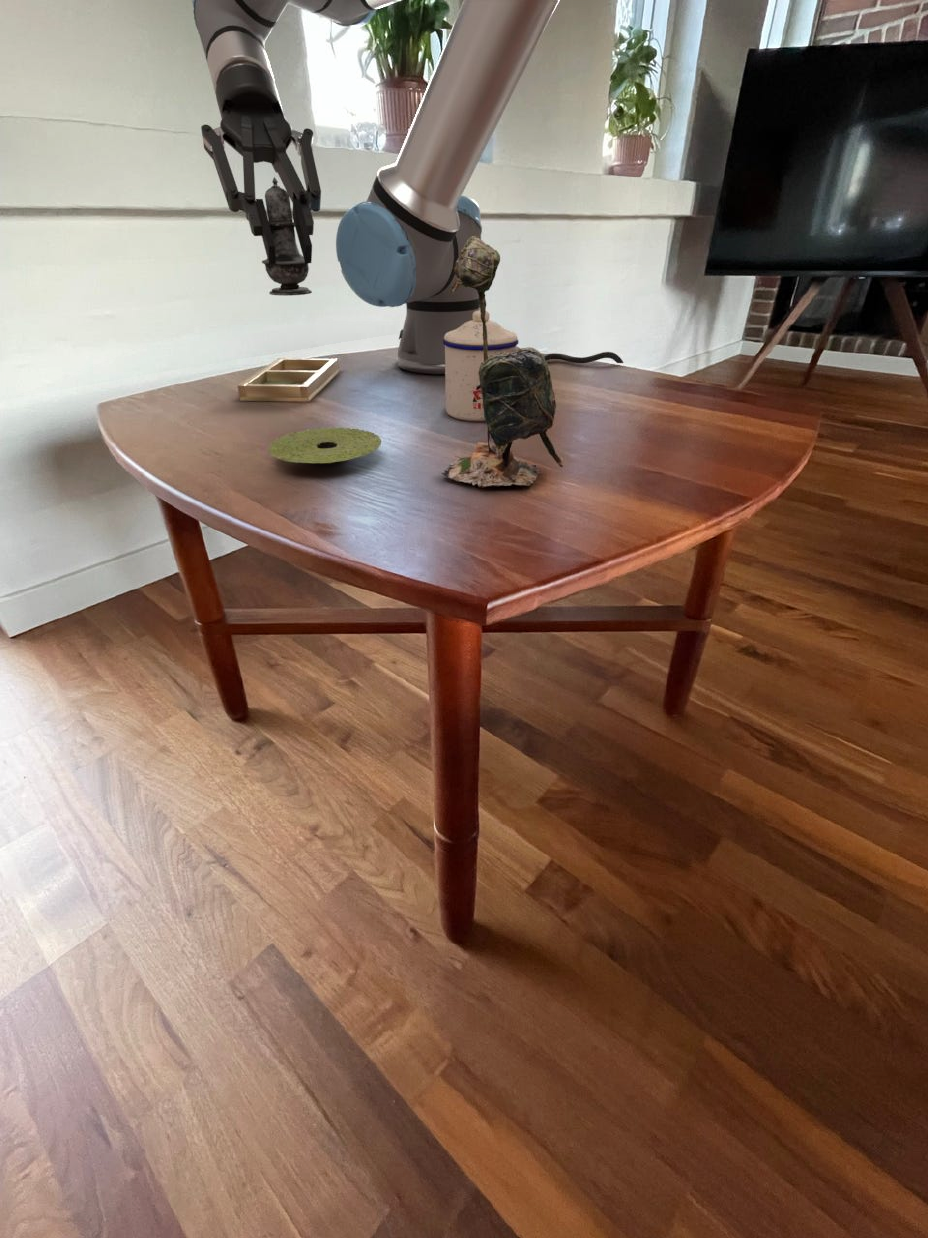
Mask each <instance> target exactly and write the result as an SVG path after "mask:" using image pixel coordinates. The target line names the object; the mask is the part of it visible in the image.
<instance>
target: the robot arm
mask: <svg viewBox="0 0 928 1238" xmlns="http://www.w3.org/2000/svg"><path fill="white" fill-rule="evenodd" d="M401 1H402V0H191V2H192V8H193V10H192V11H193V19H194V23H195V27H196V30H197V32H198V34H199V38H200V42H201V45H202V46H201V47H202V49H203V53H204V56H205V59H206V63H207V67H208V70H209V74H210V78H211V79H210V80H211V83H212V87H213V91H214V94H215V98H216V103H217V107H218V110H219V114H220V118H221V120H220V123H219V125H220V126H219V127H215V128H212V126H211V125H210V124H202V125H201V127H200V129H201V136H202V144H203V149H204V151H205V152H206V153H207V155H209V157H210V158H211V159H212V161H213V163H214V167H215V169H216V173H217V175H218V178H219V179H218V180H219V182H220V185H221V189H222V191H223V194H224V197H225V200H226V202H227V206H228V209H229V210H230V211H231V212H233V213H238V212H239V211H241V212H244V214H245V218H246V220H247V222H248V224H249V227H250V231H251V234H252V236H254V237H261V238H262V242H263V243H262V244H263V246H264V250H265V254H266V259H267V258H268V262H269V265H273V264H276V257H275V244H274V240H273V236H272V233H271V229H270V225H269V221H268V214H267V209H266V207H265V206H266V205H265V203H264V200H263V198H256V177H255V164H259V163H268V164H271V166H272V168H273V170H274V172H275V174H276V173H277V174H278V177H279V179H280V181H281V183H282V184H283V187H284V188H285V189H284V190H286V191H287V193H288V194H289V198H290V202H291V203H292V221H293V222H294V223H295V224H296V226H295V227H294V229H295V233H296V235H297V239H298V242H299V246H300V250H301V255H302V256H303V257H304V261H305V263H308V264H312V260H313V259H312V258H313V257H312V256H313V243H312V241H311V236H314V231H315V229H314V228H315V227H314V226H315V221H314V217H313V215H312V211H313V212H316V213H317V212H320V211H321V202H322V200H321V199H322V189H321V185H320V179H319V175H318V170H317V166H316V162H315V161H316V160H315V156H314V131H313V130H312V129H311V128H304V129H303V131H302V132H301V131H298V130H295V129H293V127H292V125H291V123H290V122H289V121H288V119H286V117H285V113H284V109H283V106H282V102H281V99H280V96H279V92H278V89H277V86H276V81H275V78H274V74H273V71H272V68H271V64H270V60H269V56H268V53H267V49H266V46H265V44H266V41H267V40H268V37H270V34H271V32H272V30H273V29H274V27H276V25H277V23H278V21H279V19H280V18H281V16H282V14H283V13H284V11H285V10H286V8H287V6H288V5H290V6H293V7H295V8H298V9H301V10H303V11H305V12H309V13H311V14H314V15H317V16H319V17H322V18H324V19H326V20H328V21H331V22H333V23H334V24H336V25H338V26H341V27H351V28H361V27H364V26H366V25H367V24H369V23H370V21H371V20H372V18H373V17H374V16H375V15H376V12H377V10H378V9H381V8H384V7H387V6H390V5H392V4H395V3H398V2H401ZM559 2H560V0H463V1H462V3H461V6H460V8H459V10H458V12H457V15H456V18H455V20H454V22H453V25H452V28H451V30H450V32H449V34H448V37H447V39H446V41H445V44H444V46H443V49H442V51H441V54H440V56H439V59H438V61H437V62H436V66H435V68H434V70H433V74H432V75H431V78H430V80H429V82H428V84H427V88H426V90H425V92H424V95H423V97H422V100H421V102H420V104H419V107H418V109H417V111H416V114H415V117H414V118H413V121H412V123H411V126H410V128H409V131H408V133H407V135H406V138H405V140H404V143H403V145H402V148H401V150H400V152H399V155H398V157H397V160H396V162H395V163H392V164H390V165H389V164H388V165H386V166H383V167H381V168H379V169H378V171H377V173H376V176H375V179H374V181H373V183H372V186H371V189H370V191H369V193H368V195H367V198H366V201H361V202H359V203H357V204H355V205H354V206H352V207H350V208H349V209H348V210H347V211H345V212H344V214H343V216H342V218H341V219H340V221H339V223H338V227H337V231H336V237H335V251H336V259H337V261H338V262H339V265H340V268H341V270H340V271H341V274H342V276H343V278H344V280H345V282H346V283H347V286H349V288H350V289H351V291H352V292H353V293H354V294H355V295H356V296H357V297H358V298H359V299H361V300H362V301H363V302H365V303H367V304H368V305H371V306H374V307H380V308H384V307H389V308H394V307H396V308H397V307H401V306H403V305H405V306H406V307H405V308H406V315H405V320H404V324H403V328H402V329H401V330H400V331H399V336H398V340H399V345H398V349H397V366H398V367H399V368H401V369H402V370H403V371H404V370H405V371H407V372H411V373H417V374H425V375H445V345H444V344H443V340H444V336H445V334H446V333H447V332H450V331H453V330H455V329H457V328H459V327H460V326H461V325H463V324H464V323H466V322H468V321H472V320H473V313H474V312H475V311H480V306H479V294H478V291H477V290H476V289H474V288H471V287H465V286H464V285H460V286H458V288H457V290H456V291H455V292H451V291H450V289H451V287H452V286H453V285H454V282H455V280H456V274H455V268H454V267H456V261H457V260H458V258H460V256H461V252H462V250H463V248H464V245H466V243H467V240H468V239H469V238H471V237H472V236H477V237H479V239H481V240H482V233H483V226H482V224H481V223H482V222H481V220H482V219H481V208H480V206H479V203H478V201H476V200H475V199H474V198H472V197H469V196H467V195H463V194H464V191H465V189H466V188H467V185H468V184H469V181H470V179H471V177H472V175H473V174H474V171H475V169H476V168H477V165H478V163H479V161H480V160H481V158H482V156H483V153H484V151H485V150H486V147H487V146H488V144H489V141H490V139H491V137H492V135H493V133H494V131H495V130H496V127H497V126H498V123H499V122H500V119H501V118H502V116H503V113H504V111H505V110H506V107H507V105H508V103H509V101H510V100H511V98H512V96H513V93H514V92H515V90H516V88H517V87H518V86H517V85H518V84H519V81H520V79H521V78H522V76H523V73H524V71H525V70H526V68H527V65H528V64H529V61H530V59H531V58H532V55H533V53H534V52H535V49H536V48H537V46H538V44H539V42H540V40H541V38H542V36H543V34H544V31H545V30H546V27H547V26H548V24H549V21H550V20H551V18H552V16H553V13H554V12H555V10H556V8H557V5H558V4H559ZM225 143H227V144H228V146H229V147H231V148H232V149H233V150H235V152H237V153H238V154H239V155H240V156H241V157H242V169H243V170H242V171H243V192H242V191H239V189H238V186H237V182H236V180H235V177H234V174H233V171H232V169H231V165H230V162H229V159H228V156H227V153H226V150H225V148H226V147H225ZM291 143H292V144H293V145H294V148H295V151H296V152H297V155H298V156H300V166H301V170H302V174H303V179H304V183H305V187H304V185H303V183H302V181H301V180H300V179H301V178H300V177H299V174H298V173H297V171H296V169H295V167H294V165H293V163H292V161H291V158H290V157H289V155H288V153H287V151H288V148H289V147H290V145H291ZM543 355H544V357H545V361H546V362H547V361H549V360H560V361H565V362H568V363H572V364H589V363H593V362H597V361H598V360H602V359H611V360H612V361H614V362H615V363H616V364H624V361H623V359H622V357H620V355H618V354H617V353H615V352H612V351H602V352H599V353H596V354H592V355H588V356H582V357H581V356H579V357H578V356H573V355H570V354H569V355H568V354H565V353H556V352H555V353H547V354H543Z"/></svg>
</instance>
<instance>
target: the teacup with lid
mask: <svg viewBox="0 0 928 1238" xmlns="http://www.w3.org/2000/svg"><path fill="white" fill-rule="evenodd" d="M490 316H491V315H490V312H489V311H488V310H486V313H485V320H486V327H487V341H488V347H487V348H488V350H487V354H488V358H489V357H490V356H491V355H492V356H495V355H497V354H499V353H501V352H508V351H510V350H516V349H521V347H519V346H517V345H519V341H520V340H519V339H518V338H519V337H518V335H517V334H516V333H515V332H514V331H511V330H508V329H506V328H504V327H503V326H502V325H500V324H499V323H498V322H497V321H494V320H490ZM443 344H444V345H445V374H444V377H445V378H444V381H445V411H446V414H447V415H449V416H450V417H451V418H455V419H456V420H461V421H467V422H485V418H484V409H483V398H482V391H481V385H480V380H479V374H478V373H479V368H480V366H481V363H483V362H484V353H483V323H482V320H481V312H480V311H475V312H474V313H473V320H472V321H468V322H466V323H464V324H463V325H461V326H460V327H459V328H457V329H455V330H453V331H450V332H447V333H446V334H445V336H444V340H443Z"/></svg>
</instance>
